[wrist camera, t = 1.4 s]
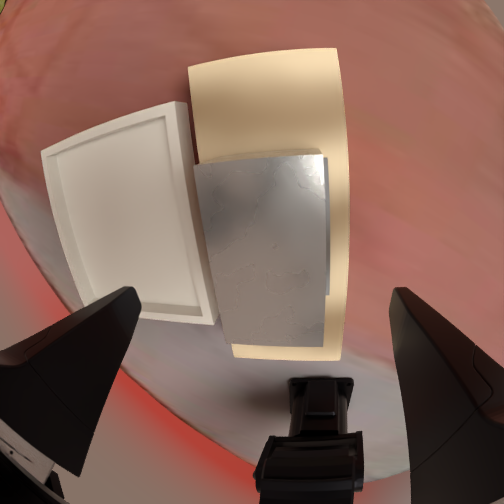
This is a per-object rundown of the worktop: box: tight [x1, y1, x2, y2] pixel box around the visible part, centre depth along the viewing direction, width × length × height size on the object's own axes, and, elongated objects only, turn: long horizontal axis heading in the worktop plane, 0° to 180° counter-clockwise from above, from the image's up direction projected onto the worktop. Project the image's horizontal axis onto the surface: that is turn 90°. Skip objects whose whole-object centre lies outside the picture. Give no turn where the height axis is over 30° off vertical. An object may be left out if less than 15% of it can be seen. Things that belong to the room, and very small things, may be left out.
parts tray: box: [41, 101, 220, 325], centre depth 21 cm, size 17×15×2 cm
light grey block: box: [193, 149, 326, 347], centre depth 14 cm, size 9×5×4 cm, turn 6°
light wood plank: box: [188, 48, 350, 361], centre depth 17 cm, size 20×8×4 cm, turn 6°
